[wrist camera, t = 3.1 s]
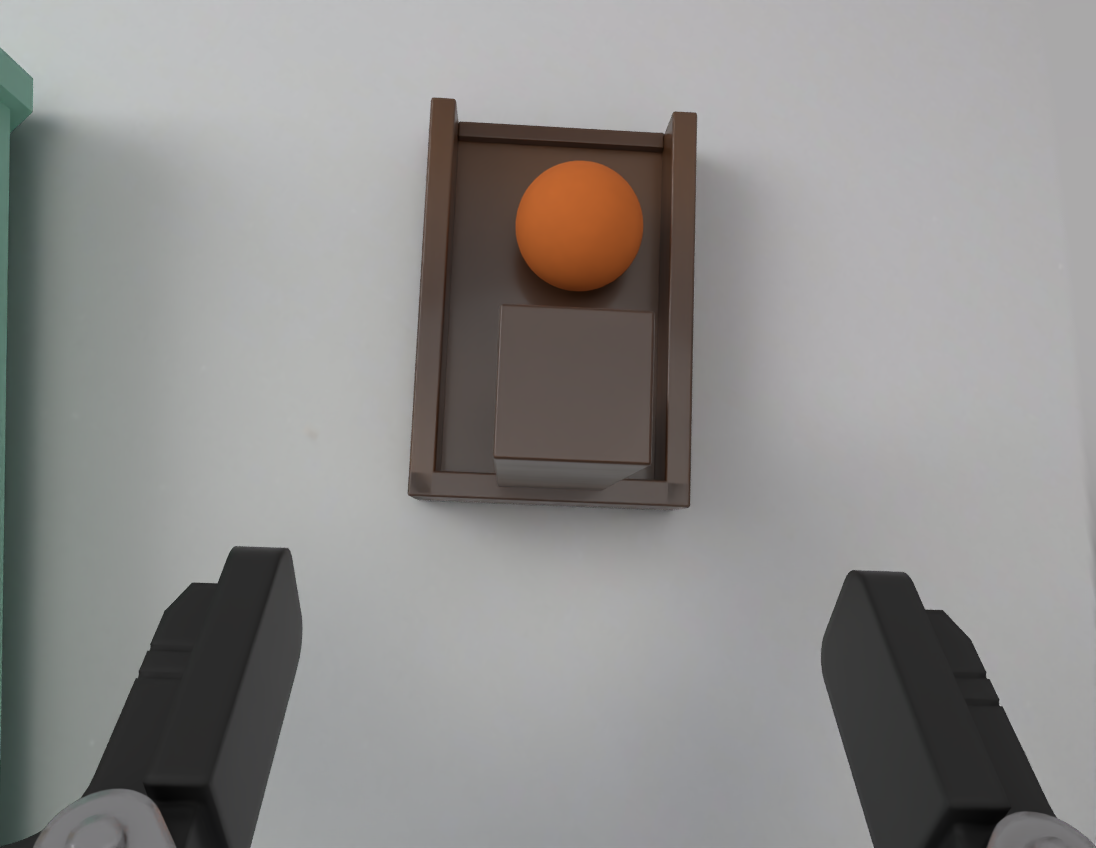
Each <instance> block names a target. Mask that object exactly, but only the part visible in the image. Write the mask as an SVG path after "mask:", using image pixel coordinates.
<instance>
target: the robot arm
mask: <svg viewBox="0 0 1096 848" xmlns="http://www.w3.org/2000/svg"><path fill="white" fill-rule="evenodd" d="M301 644H302V615H301V609H300V603H299V597H298V591H297V585H296V579H295V572H294V566H293V560H292V555H291V552H290V550H289V549H288V548H271V547H243V546H235V547H233V548H232V550H231V551H230V553H229V555H228V557H227V560H226V563H225V565H224V568H223V571H222V573H221V576H220V578H219V581H218V584H217V583H191V584H190V585H189V586H188V588H187V589H186V590H185V591H184V592H183V593H182V594H181V595H180V596H179V597H178V598H177V599H176V600H175V601H174V602H173V603H172V604H171V605H170V606H169V607H168V608H167V609H166V610H165V611H164V614H163V616H162V618H161V621H160V623H159V625H158V628H157V630H156V632H155V635H154V637H153V639H152V642H151V644H150V645H151V648H150V651H147V653H146V656H145V658H144V660H143V663H142V665H141V667H140V670H139V677H138V678H136V679H135V681H134V684H133V686H132V688H131V691H130V693H129V695H128V698H127V700H126V702H125V705H124V707H123V709H122V712H121V714H120V716H119V719H118V721H117V723H116V726H115V728H114V730H113V733H112V735H111V737H110V740H109V742H108V744H107V747H106V749H105V751H104V754H103V756H102V758H101V761H100V763H99V765H98V768H97V770H96V773H95V775H94V777H93V779H92V781H91V783H90V785H89V787H88V788H87V790H86V791H85V793H84V794H83V796H82V797H81V798H80V799H79V800H77V801H75V802H74V803H72V804H70V805H69V806H67V807H66V808H65V809H63V810H62V811H61V812H59V813H58V814H57V815H56V816H55V817H54V818H53V819H52V820H51V821H50V822H49V823H48V824H47V826H46V827H45V828H44V829H43V830H42V831H40V832H39V833H37V834H35V835H32V836H30V837H28V838H26V839H23V840H20V841H18V842H15V843H12V844H8V845H4V846H1V847H0V848H250V847H251V843H252V839H253V835H254V831H255V827H256V824H257V820H258V816H259V812H260V808H261V804H262V801H263V797H264V793H265V789H266V785H267V781H268V777H269V774H270V770H271V766H272V762H273V758H274V754H275V751H276V747H277V743H278V739H279V735H280V731H281V728H282V724H283V720H284V716H285V712H286V708H287V705H288V701H289V697H290V693H291V689H292V685H293V682H294V678H295V674H296V670H297V666H298V662H299V658H300V652H301ZM821 665H822V673H823V678H824V682H825V685H826V689H827V692H828V695H829V699H830V702H831V705H832V709H833V712H834V715H835V719H836V722H837V725H838V729H839V732H840V735H841V739H842V742H843V745H844V749H845V752H846V755H847V759H848V762H849V765H850V769H851V772H852V776H853V779H854V782H855V786H856V789H857V792H858V796H859V799H860V802H861V806H862V809H863V812H864V816H865V819H866V822H867V826H868V829H869V832H870V836H871V839H872V842H873V846H874V848H1096V846H1095V845H1094V844H1093V843H1092V842H1091V841H1090V840H1089V839H1088V838H1087V837H1086V836H1084V835H1083V834H1082V833H1081V832H1079V831H1078V830H1077V829H1075V828H1074V827H1072V826H1071V825H1069V824H1067V823H1066V822H1064V821H1062V820H1060V819H1058V818H1057V817H1056V816H1055V814H1054V813H1053V811H1052V809H1051V807H1050V805H1049V804H1048V801H1047V799H1046V797H1045V795H1044V793H1043V791H1042V789H1041V787H1040V785H1039V782H1038V780H1037V778H1036V776H1035V774H1034V772H1033V770H1032V768H1031V766H1030V764H1029V761H1028V759H1027V757H1026V755H1025V753H1024V751H1023V749H1022V747H1021V745H1020V742H1019V740H1018V738H1017V736H1016V734H1015V732H1014V730H1013V728H1012V726H1011V723H1010V721H1009V719H1008V717H1007V715H1006V713H1005V711H1004V709H1003V707H1000V706H999V698H998V696H997V694H996V692H995V690H994V688H993V686H992V683H991V681H990V679H987V678H986V671H985V669H984V667H983V664H982V662H981V660H980V658H979V656H978V654H977V652H976V650H975V648H974V645H973V643H972V641H971V639H970V638H969V637H968V636H967V635H966V634H965V633H964V632H963V631H962V630H961V629H960V628H959V627H958V626H957V625H956V624H955V623H954V622H953V620H952V619H951V618H950V617H949V616H948V615H947V614H946V613H945V612H944V611H943V610H925V608H924V606H923V604H922V602H921V599H920V597H919V595H918V592H917V590H916V588H915V586H914V583H913V581H912V580H911V578H910V577H909V576H908V575H907V574H906V573H904V572H889V571H861V570H852V571H850V572H849V573H848V575H847V576H846V578H845V581H844V583H843V586H842V589H841V591H840V594H839V597H838V599H837V602H836V605H835V607H834V610H833V613H832V615H831V618H830V621H829V623H828V626H827V628H826V631H825V634H824V637H823V641H822V648H821Z"/></svg>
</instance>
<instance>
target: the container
mask: <svg viewBox="0 0 1096 848" xmlns="http://www.w3.org/2000/svg"><path fill="white" fill-rule="evenodd" d="M32 112H33V78H32V77H31V76H30V75H29V74H28V73H27V72H26V71H25V70H23V69H22V68H21V67H20V66H19V65H18V64H17V63H16V62H15V61H14V60H13V59H12V58H11V57H10V56H9V55H8V54H7V53H6V52H4V51H3V50H2V49H1V48H0V758H1V691H2V624H3V558H4V491H5V424H6V357H7V290H8V224H9V157H10V133H11V132H12V131H13V130H14V129H15V128H16V127H17V126H18V125H19V124H21V123H22V122H23V121H24V120H25V119H26V118H27V117H28V116H29V115H30V114H31V113H32Z"/></svg>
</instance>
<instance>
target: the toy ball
mask: <svg viewBox="0 0 1096 848" xmlns="http://www.w3.org/2000/svg"><path fill="white" fill-rule="evenodd" d="M642 236H643V215H642V210H641V207H640V203H639V201H638V198H637V196H636V194H635V193H634V191H633V189H632V188H631V186H630V185H629V184H628V182H627V181H626V180H625V179H624V178H623V177H622V176H620V175H619V174H618V173H617V172H615V171H614V170H612V169H610V168H608V167H606V166H604V165H602V164H599V163H595V162H591V161H569V162H565V163H561V164H558V165H556V166H553V167H551V168H549V169H548V170H546V171H544V172H543V173H542V174H540V175H539V176H538V177H537V178H536V179H535V180H534V181H533V182H532V183H531V184H530V186H529V187H528V188H527V190H526V191H525V193H524V195H523V197H522V199H521V201H520V204H519V207H518V210H517V216H516V238H517V243H518V246H519V249H520V252H521V254H522V256H523V258H524V260H525V261H526V263H527V265H528V266H529V267H530V269H531V270H532V271H533V272H534V273H535V274H536V275H537V276H538V277H540V278H541V279H542V280H544V281H545V282H547V283H549V284H550V285H552V286H555V287H557V288H560V289H564V290H568V291H589V290H594V289H598V288H601V287H603V286H605V285H607V284H609V283H611V282H613V281H614V280H616V279H617V278H618V277H619V276H621V275H622V274H623V273H624V272H625V271H626V270H627V269H628V267H629V266H630V265H631V263H632V262H633V260H634V259H635V257H636V255H637V253H638V250H639V248H640V245H641V241H642Z"/></svg>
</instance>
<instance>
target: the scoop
mask: <svg viewBox="0 0 1096 848" xmlns="http://www.w3.org/2000/svg"><path fill="white" fill-rule="evenodd" d="M696 146H697V114H696V113H691V112H673V114H672V116H671V119H670V122H669V124H668V127H667V129H666V132H665V134H663V133H650V132H632V131H615V130H597V129H580V128H563V127H545V126H528V125H510V124H493V123H476V122H458V114H457V105H456V100H455V99H449V98H432V100H431V108H430V125H429V142H428V159H427V176H426V193H425V210H424V227H423V244H422V262H421V279H420V296H419V313H418V330H417V347H416V364H415V381H414V398H413V415H412V432H411V449H410V466H409V482H408V495H409V496H411V497H413V498H415V499H417V500H427V501H452V502H476V503H501V504H526V505H550V506H575V507H600V508H624V509H649V510H677V509H682V508H688V507H689V506H690V480H691V424H692V369H693V313H694V257H695V202H696ZM569 161H591V162H595V163H599V164H602V165H604V166H606V167H608V168H610V169H612V170H614V171H615V172H617V173H618V174H619V175H620V176H622V177H623V178H624V179H625V180H626V181H627V182H628V184H629V185H630V186H631V188H632V189H633V191H634V193H635V194H636V196H637V198H638V201H639V203H640V207H641V210H642V215H643V236H642V241H641V245H640V248H639V250H638V253H637V255H636V257H635V259H634V260H633V262H632V263H631V265H630V266H629V267H628V269H627V270H626V271H625V272H624V273H623V274H622V275H621V276H619V277H618V278H617V279H616V280H614V281H613V282H611V283H609V284H607V285H605V286H603V287H601V288H598V289H594V290H589V291H568V290H564V289H560V288H557V287H555V286H552V285H550V284H549V283H547V282H545V281H544V280H542V279H541V278H540V277H538V276H537V275H536V274H535V273H534V272H533V271H532V270H531V269H530V267H529V266H528V265H527V263H526V261H525V260H524V258H523V256H522V254H521V252H520V249H519V246H518V243H517V238H516V216H517V210H518V207H519V204H520V201H521V199H522V197H523V195H524V193H525V191H526V190H527V188H528V187H529V186H530V184H531V183H532V182H533V181H534V180H535V179H536V178H537V177H538V176H539V175H540V174H542V173H543V172H544V171H546V170H548V169H549V168H551V167H553V166H556V165H558V164H561V163H565V162H569Z"/></svg>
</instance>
